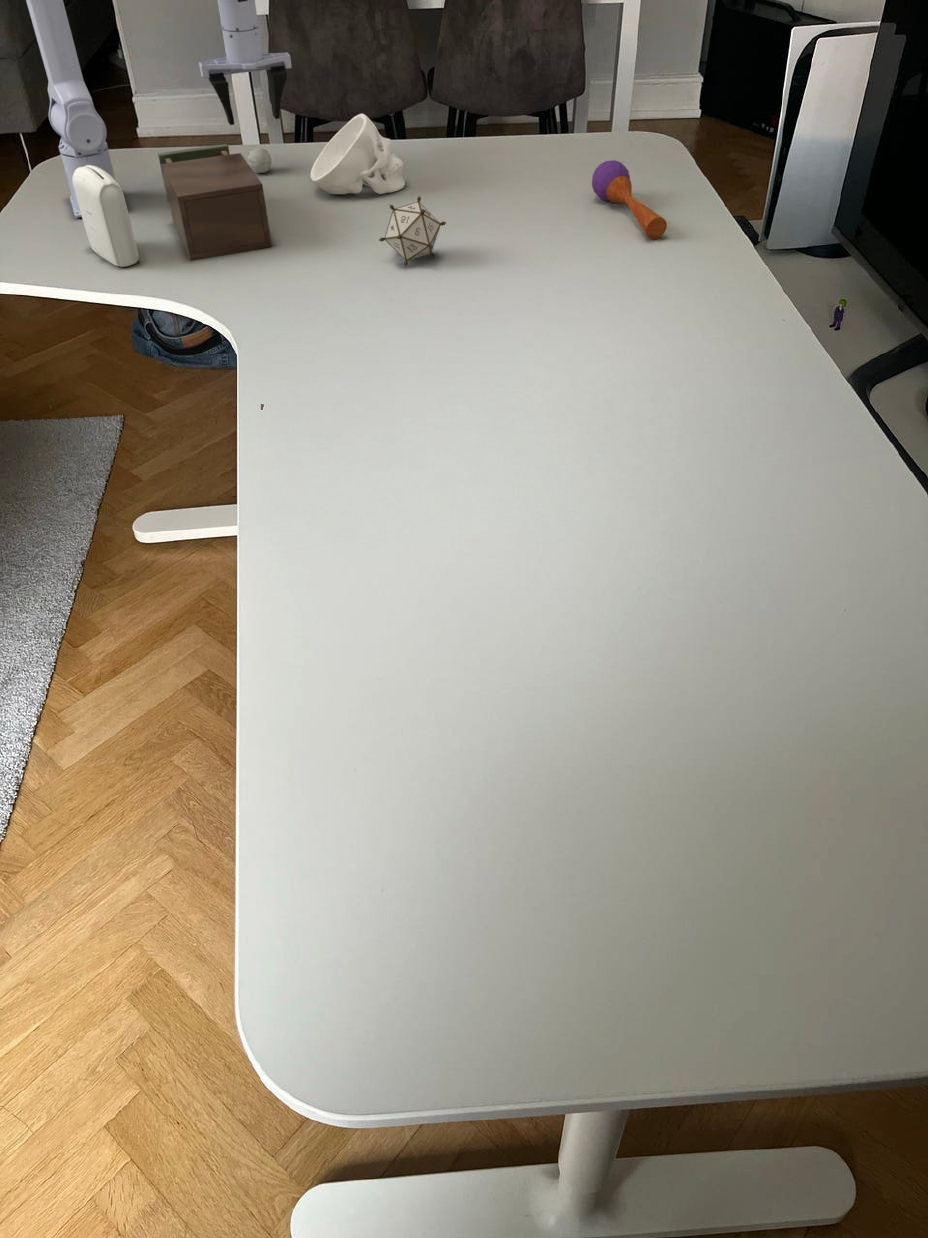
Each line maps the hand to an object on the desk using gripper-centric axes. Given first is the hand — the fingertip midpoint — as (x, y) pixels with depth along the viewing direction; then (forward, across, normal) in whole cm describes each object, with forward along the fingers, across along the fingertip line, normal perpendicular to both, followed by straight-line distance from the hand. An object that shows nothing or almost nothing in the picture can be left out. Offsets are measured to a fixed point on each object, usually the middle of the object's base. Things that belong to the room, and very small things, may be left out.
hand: (253, 119), depth 166 cm
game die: (+9, +12, -45) cm, 47 cm away
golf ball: (+9, 0, 0) cm, 9 cm away
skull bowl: (+9, +13, -15) cm, 22 cm away
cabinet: (+8, -12, -25) cm, 29 cm away
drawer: (+8, -12, -14) cm, 20 cm away
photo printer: (+9, -28, -26) cm, 39 cm away
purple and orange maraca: (+9, +48, -43) cm, 65 cm away
